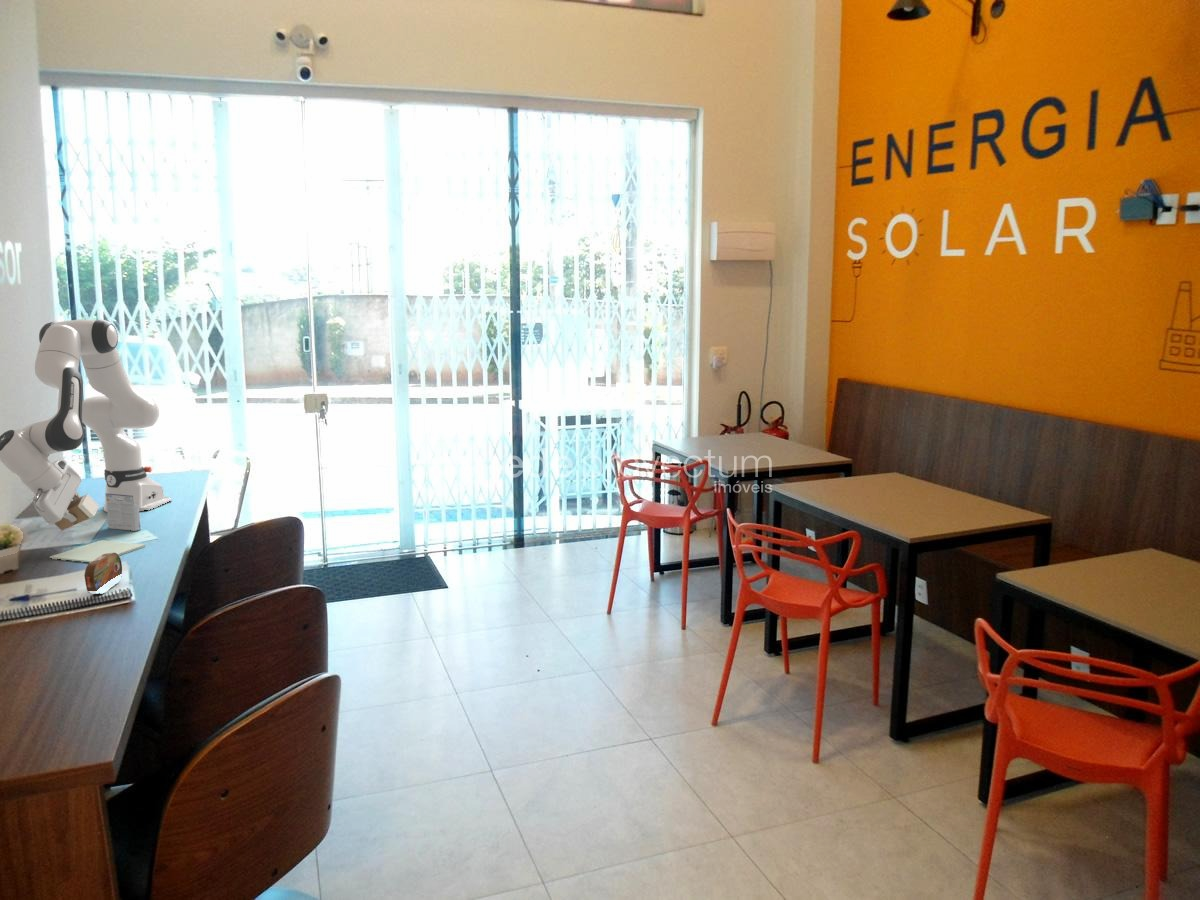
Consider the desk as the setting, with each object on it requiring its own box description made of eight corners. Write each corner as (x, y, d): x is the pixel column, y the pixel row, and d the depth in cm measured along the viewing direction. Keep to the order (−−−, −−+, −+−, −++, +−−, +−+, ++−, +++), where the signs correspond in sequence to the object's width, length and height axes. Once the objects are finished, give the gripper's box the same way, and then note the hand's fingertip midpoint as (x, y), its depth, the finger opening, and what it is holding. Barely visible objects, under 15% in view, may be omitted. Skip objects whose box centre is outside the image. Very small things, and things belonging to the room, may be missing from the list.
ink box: (141, 530, 282) (138, 494, 280) (135, 531, 280) (132, 495, 278) (113, 526, 285) (110, 491, 283) (107, 528, 283) (104, 492, 281)
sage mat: (101, 541, 268) (101, 540, 268) (145, 546, 263) (145, 544, 263) (49, 558, 251) (49, 556, 251) (95, 563, 246) (95, 561, 246)
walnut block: (55, 508, 263) (87, 493, 262) (67, 519, 266) (99, 505, 265) (49, 518, 259) (82, 504, 258) (61, 530, 262) (94, 516, 261)
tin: (97, 599, 219) (94, 566, 217) (83, 599, 219) (80, 566, 217) (124, 579, 234) (121, 548, 232) (111, 579, 233) (109, 548, 232)
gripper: (41, 497, 246) (76, 531, 254) (65, 455, 262) (97, 488, 270) (21, 506, 246) (57, 540, 254) (46, 463, 263) (79, 496, 271)
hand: (78, 513), depth 262 cm, fingers closed on walnut block, 5 cm apart
